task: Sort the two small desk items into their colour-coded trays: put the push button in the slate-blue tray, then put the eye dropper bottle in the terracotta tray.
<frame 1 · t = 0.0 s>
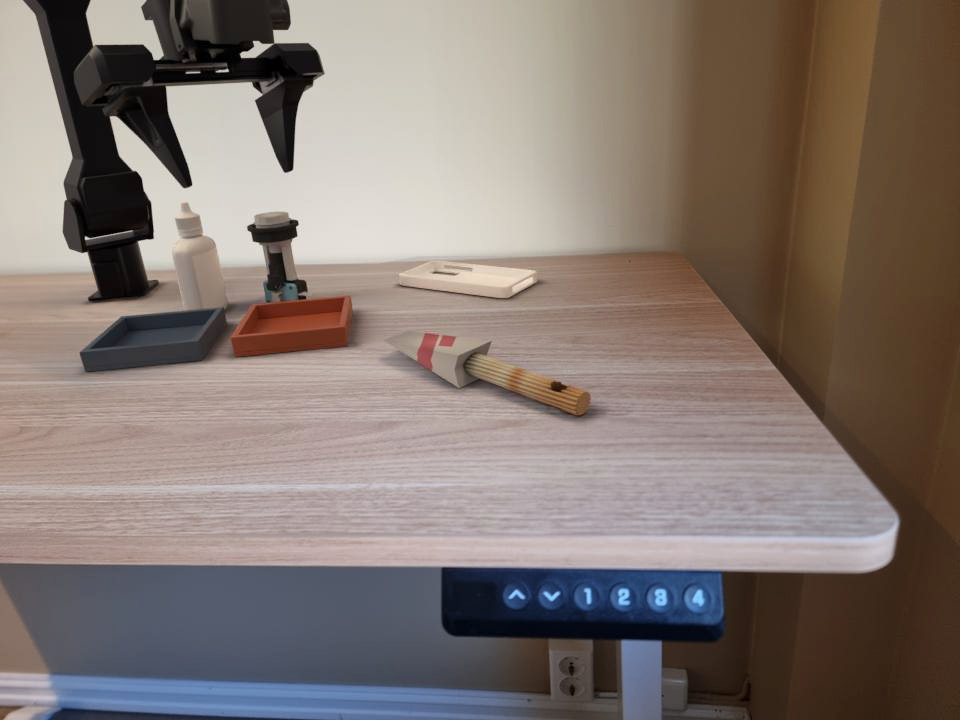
hand: (241, 179, 57), 15 cm above the table, tool pointing down, fingers open, 9 cm apart
eye dropper bottle: (208, 314, 75), on the table
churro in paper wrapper: (479, 383, 54), on the table
slate tray: (161, 346, 66), on the table
phone case: (467, 285, 80), on the table
push button: (291, 306, 76), on the table
terracotta tray: (298, 333, 67), on the table
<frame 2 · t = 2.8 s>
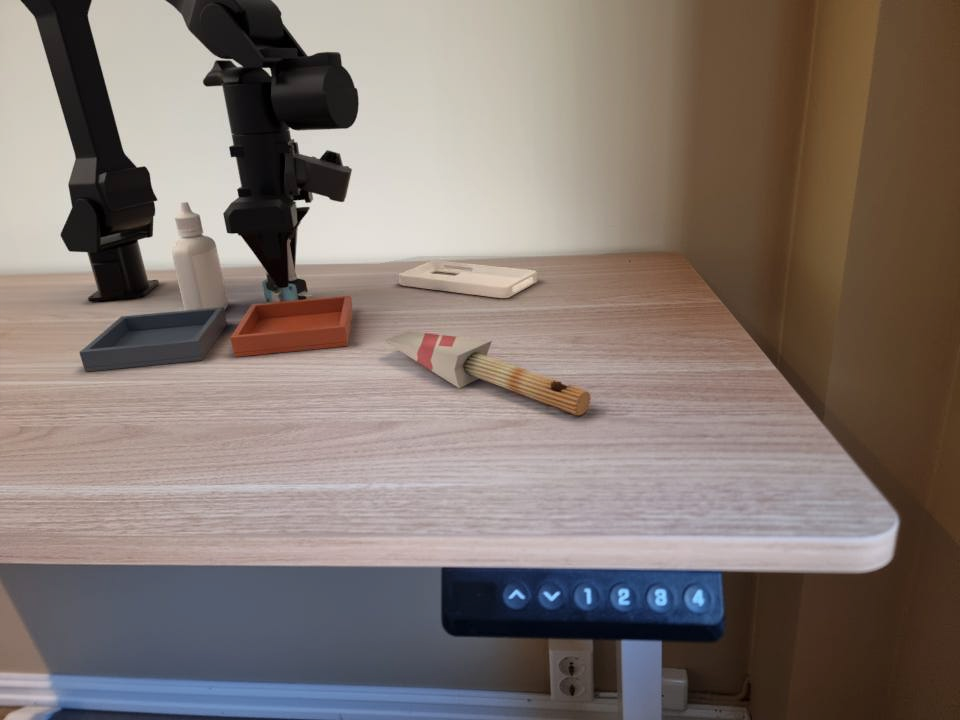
hand: (286, 281, 75), 3 cm above the table, tool pointing down, fingers closed on push button, 5 cm apart
push button: (291, 305, 76), on the table, touching gripper
everything else where it was.
when the fingers open (3 cm above the table, at t = 8.0 s): push button stays where it is, resting on slate tray.
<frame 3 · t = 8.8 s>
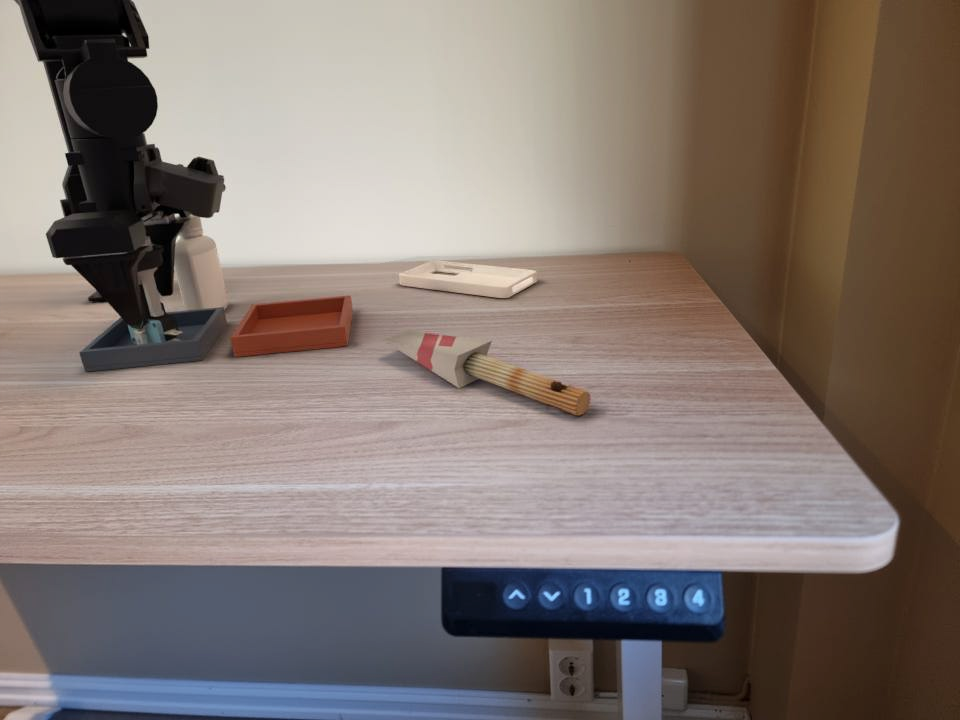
hand: (152, 309, 64), 4 cm above the table, tool pointing down, fingers open, 9 cm apart
push button: (160, 346, 65), resting on slate tray
everything else where it was.
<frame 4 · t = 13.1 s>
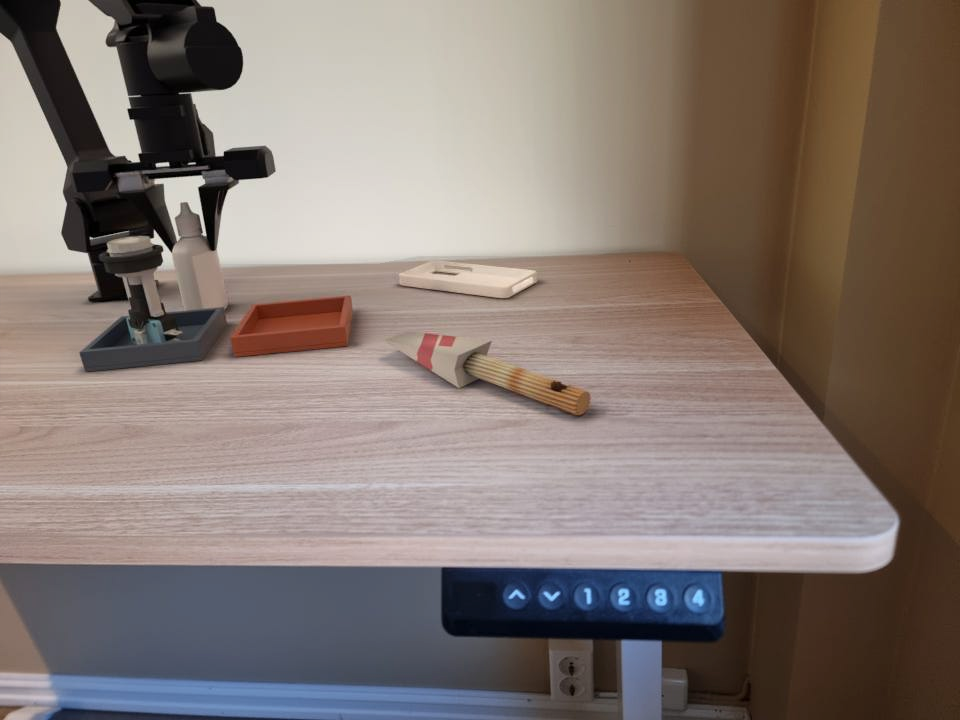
hand: (195, 251, 73), 7 cm above the table, tool pointing down, fingers closed on eye dropper bottle, 4 cm apart
eye dropper bottle: (208, 314, 75), on the table, touching gripper
everything else where it was.
when the fingers open (7 cm above the table, at t = 17.2 s): eye dropper bottle stays where it is, resting on terracotta tray.
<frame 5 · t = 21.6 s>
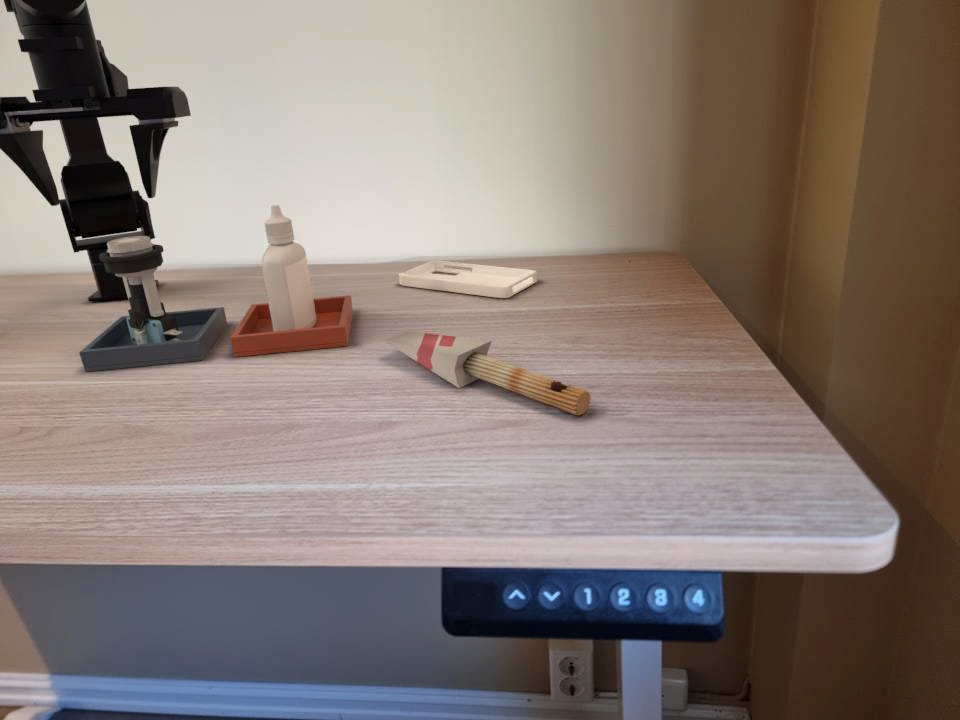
hand: (104, 201, 68), 13 cm above the table, tool pointing down, fingers open, 9 cm apart
eye dropper bottle: (296, 330, 67), resting on terracotta tray
everything else where it was.
at the end: push button inside the target area in the slate tray (0.5 cm from its centre), point 0.2 cm above the slate tray's base; eye dropper bottle inside the target area in the terracotta tray (0.1 cm from its centre), point 0.2 cm above the terracotta tray's base; eye dropper bottle tilted 0° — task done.
